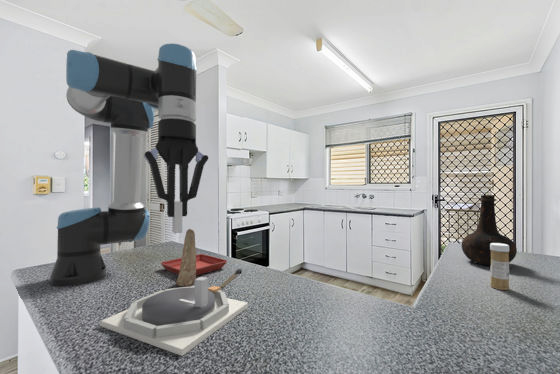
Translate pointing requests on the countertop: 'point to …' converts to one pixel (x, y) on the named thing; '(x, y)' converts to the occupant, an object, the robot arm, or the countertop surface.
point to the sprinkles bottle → (499, 266)
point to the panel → (180, 339)
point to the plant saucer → (202, 264)
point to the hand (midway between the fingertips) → (177, 232)
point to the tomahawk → (230, 278)
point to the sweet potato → (188, 261)
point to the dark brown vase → (486, 235)
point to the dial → (179, 304)
